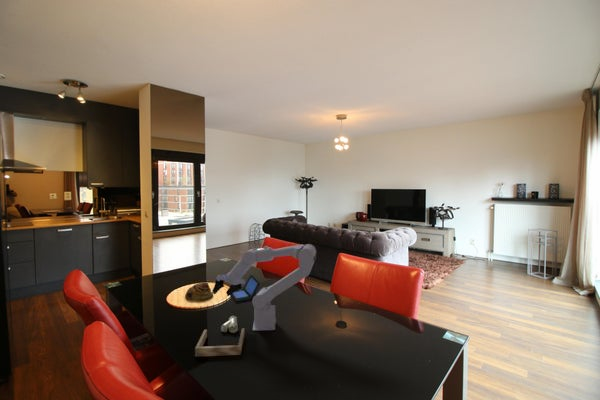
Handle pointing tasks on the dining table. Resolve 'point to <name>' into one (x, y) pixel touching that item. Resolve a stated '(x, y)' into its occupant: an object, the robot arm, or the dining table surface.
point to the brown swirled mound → (199, 292)
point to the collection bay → (218, 347)
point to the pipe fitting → (230, 325)
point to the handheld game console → (246, 291)
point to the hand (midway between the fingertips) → (220, 293)
